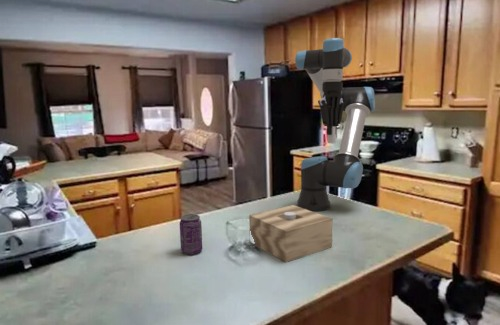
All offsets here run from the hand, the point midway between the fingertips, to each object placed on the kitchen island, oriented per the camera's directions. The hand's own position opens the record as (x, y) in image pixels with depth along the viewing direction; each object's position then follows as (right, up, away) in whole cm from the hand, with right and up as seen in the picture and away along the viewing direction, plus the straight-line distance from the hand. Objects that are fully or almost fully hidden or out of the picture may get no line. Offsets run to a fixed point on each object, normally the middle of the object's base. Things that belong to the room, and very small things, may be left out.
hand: (331, 143), depth 141 cm
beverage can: (-51, -38, -21) cm, 67 cm away
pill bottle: (-18, -35, -17) cm, 43 cm away
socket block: (-18, -36, -16) cm, 43 cm away
